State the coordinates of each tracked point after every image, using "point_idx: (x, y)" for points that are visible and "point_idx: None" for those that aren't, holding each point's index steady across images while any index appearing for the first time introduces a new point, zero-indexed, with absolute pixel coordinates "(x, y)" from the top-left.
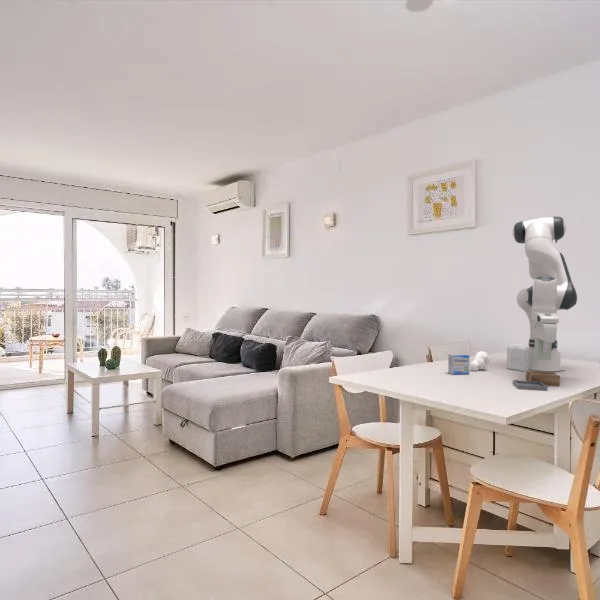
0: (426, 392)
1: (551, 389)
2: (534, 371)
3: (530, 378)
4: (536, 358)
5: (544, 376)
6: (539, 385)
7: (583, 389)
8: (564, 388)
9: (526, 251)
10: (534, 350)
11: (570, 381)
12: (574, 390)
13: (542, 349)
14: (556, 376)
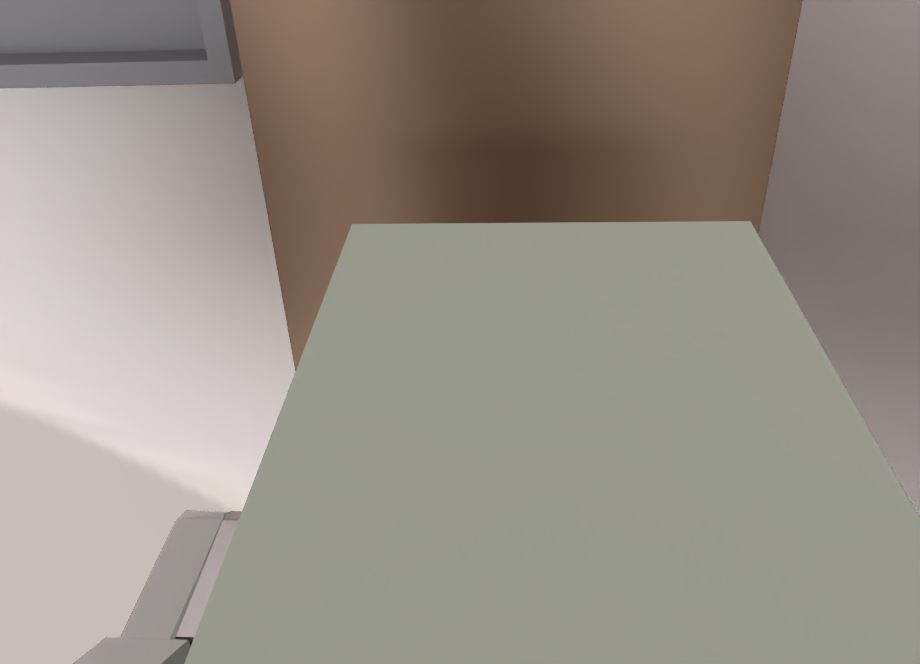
0: None
1: (8, 159)
2: (673, 102)
3: None
4: (447, 231)
5: (269, 187)
6: (112, 27)
7: (243, 499)
8: (194, 335)
9: None
10: (814, 361)
11: None
12: (120, 405)
13: None
14: (299, 361)
